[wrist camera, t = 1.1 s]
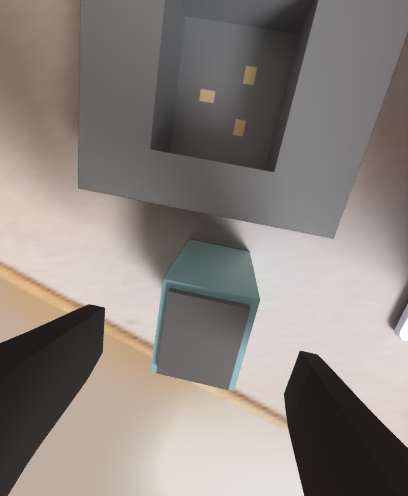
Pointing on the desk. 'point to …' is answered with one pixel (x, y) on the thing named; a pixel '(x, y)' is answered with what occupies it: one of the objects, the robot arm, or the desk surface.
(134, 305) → the desk surface
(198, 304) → the plug
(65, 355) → the robot arm
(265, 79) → the socket
